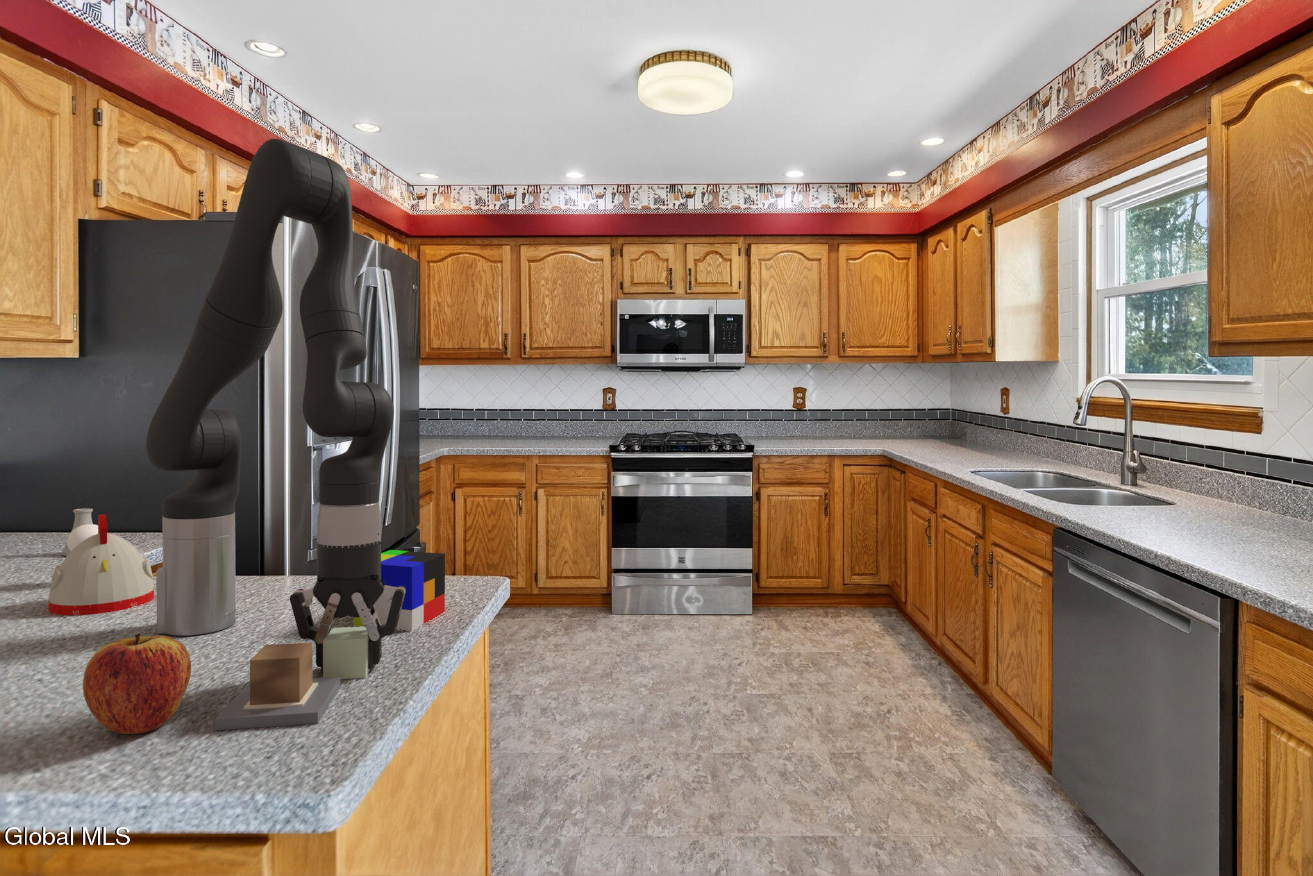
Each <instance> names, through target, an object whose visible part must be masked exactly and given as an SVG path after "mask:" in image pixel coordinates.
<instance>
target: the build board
mask: <svg viewBox="0 0 1313 876" xmlns="http://www.w3.org/2000/svg"><path fill="white" fill-rule="evenodd" d="M340 687H341V679H340V677H328V678H323V677H312V686H311V687H310V689H309V690H308V691H307V693H306V694H305V695H304V697H303V698H302V700H301V701H300V702H295V703H279V704H263V705H250V682H248V683H247V685H246V686H245V687H244V688H243V689H242V690H241V691H240V692H239V693H238V694H237V695H236V696H235V697H234V698H233V699H232V701H231V702H229V703H228V705H227V706H225V708H224V709H223V710H221V712H220V713H219V714H218V715H217V717H216V718H214V731H222V730H223V731H224V730H225V731H226V730H239V729H240V730H241V729H252V728H268V727H281V726H282V727H284V726H296V725H299V726H300V725H312V724H319V722H320V721H321V719H322V718H323V716H324V714H325V712H326V711H327V709H328V707H329V706H330V704H331V702H332V701H333V699H334V698H335V696H336V694H337V692H338V691H339V690H340Z"/></svg>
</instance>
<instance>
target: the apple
mask: <svg viewBox="0 0 1313 876" xmlns="http://www.w3.org/2000/svg"><path fill="white" fill-rule="evenodd" d="M191 675H192V661H191V656H190V654H189V651H188V649H187V647H186V646H185V645H184V644H183V643H182V642H181V641H178V640H177V639H175V638H173V637H170V636H167V635H164V634H163V635H162V634H159V635H141V633H136V634H135V635H134V636H132V637H127V638H126V637H125V638H123V639H122V638H121V639H118V640H116V641H115V640H114V641H111V642H109V643H107V644H105V645H104V646H102V647H101V648H99V649H98V650H97V651H95V653H94V654H93V655H92V656H91V658H90V659H89V661H88V662H87V665H86V667H85V669H84V674H83V678H82V679H83V680H82V693H83V699H84V700H85V703H86V705H87V707H88V709H89V711H90V713H92V716H93V717H94V718H95V719H96V720H97V721H98V722H99V724H101V725H102V726H103V727H104V728H106V729H107V730H109V731H111V732H113V733H116V734H122V735H135V734H136V735H137V734H145V733H148V732H151V731H154V730H156V729H158V728H160V727H162V726H163V725H165V724H166V723H167V722H168V721H169V720H171V718H172V717H173V716H174V715H175V714H176V712H177V710H178V709H179V707H180V705H181V703H182V701H183V698H184V697H185V694H186V692H187V689H188V687H189V684H190V680H191Z"/></svg>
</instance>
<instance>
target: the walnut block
mask: <svg viewBox="0 0 1313 876" xmlns="http://www.w3.org/2000/svg"><path fill="white" fill-rule="evenodd" d="M312 678H313V642H297V643H294V642H293V643H273V644H265V645H264V646H263V647H262V648H261V649H260V650H258V651H257V653H256V654H255V655H253V657H252V658H251V659H250V660H249V683H250V705H263V704H279V703H295V702H300V701H301V700H302V698H303V697H304V695H305V694H306V693H307V691H308V690H309V689H310V687H311V686H312Z"/></svg>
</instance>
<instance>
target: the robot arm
mask: <svg viewBox="0 0 1313 876" xmlns="http://www.w3.org/2000/svg"><path fill="white" fill-rule="evenodd" d="M349 181H350V180H349V177H348V175H347V173H346V170H345V169H344V168H343V167H342V166H341V165H340V164H339V163H338V162H337V161H335V160H333V159H331V158H330V157H327V156H325V155H322V154H319V153H317V152H316V151H315V152H314V151H312V150H309V149H307V148H305V147H302V146H300V145H297V144H295V143H292V142H290V141H287V140H283V139H280V138H270V139H267V140H266V141H264V143H262V144H261V145H260V147H258V149H257V151H256V152H255V154H254V156H253V158H252V160H251V161H250V165H249V168H248V170H247V173H246V176H245V181H244V184H243V188H242V191H241V195H240V199H239V202H238V206H237V210H236V213H235V217H234V222H233V225H232V228H231V232H230V235H229V238H228V241H227V245H226V247H225V249H224V252H223V255H222V256H221V260H220V262H219V265H218V268H217V271H216V273H215V276H214V278H213V280H212V283H211V285H210V287H209V289H208V291H207V293H206V296H205V299H204V302H203V303H202V307H201V309H200V311H199V314H198V317H197V320H196V323H195V326H194V328H193V329H194V330H193V332H192V335H191V338H190V340H189V342H188V345H187V347H186V350H185V352H184V355H183V357H182V359H181V362H180V364H179V365H178V368H177V371H176V372H175V375H174V377H173V379H172V380H171V383H170V384H169V386H168V388H167V389H166V391H165V393H164V395H163V396H162V399H161V400H160V402H159V404H158V405H157V408H156V410H155V411H154V414H153V417H152V418H151V421H150V424H149V426H148V430H147V435H146V439H145V440H146V442H145V448H146V455H147V457H148V460H149V462H150V463H151V464H152V465H153V466H154V467H155V468H157V469H159V470H162V471H169V472H181V471H183V472H186V471H197V473H196V476H195V478H194V479H193V480H192V481H191V482H190V483H189V484H187V486H185V487H183V488H182V489H179V490H177V491H175V492H173V493H171V494H168V495H166V496H165V497H164V498H163V500H162V502H161V516H162V517H161V518H162V519H161V521H162V527H161V528H162V566H161V567H159V568H157V569H156V575H155V576H156V584H155V585H156V588H155V589H156V633H157V634H167V635H172V636H193V635H203V634H209V633H213V632H214V633H215V632H218V631H221V630H225V629H227V628H229V627H232V626H233V625H235V623H236V614H237V606H236V604H237V603H236V593H237V592H236V502H237V499H238V495H239V491H240V475H241V473H240V472H241V458H242V434H241V429H240V428H241V427H240V425H239V423H238V420H237V418H236V417H235V416H234V414H233V413H231V412H230V411H228V410H226V409H223V408H222V409H221V408H208V407H209V405H210V403H212V401H213V400H214V398H215V397H216V396H217V395H218V394H219V393H220V392H221V391H222V390H223V389H225V387H227V386H228V385H229V384H230V383H232V382H233V381H235V380H236V379H237V378H238V377H241V375H242V374H244V373H245V372H246V371H247V370H249V369H250V368H252V367H253V366H254V365H255V364H256V363H257V362H258V361H259V360H260V359H262V357H263V356H264V355H265V353H266V351H267V350H268V349H269V346H270V345H271V343H272V341H273V339H274V336H275V333H276V331H277V328H278V326H279V324H280V321H281V319H282V316H283V310H284V305H283V304H284V303H283V297H282V292H281V288H280V284H279V280H278V277H277V274H276V270H275V267H274V261H273V245H274V241H275V240H274V239H275V235H276V233H277V229H278V226H279V224H280V222H281V220H282V218H283V217H286V218H289V219H293V220H295V221H300V222H302V223H306V224H309V225H311V227H312V229H313V232H314V236H315V239H316V242H317V254H316V255H317V256H316V258H315V261H314V264H313V266H312V269H311V271H310V272H309V274H308V276H307V278H306V280H305V282H304V285H303V287H302V290H301V294H300V299H299V316H300V321H301V327H302V332H303V336H304V340H305V341H304V342H305V347H306V351H307V352H306V354H307V355H306V360H307V362H306V375H305V384H304V385H305V386H304V392H303V399H302V414H303V418H304V420H305V423H306V425H307V426H308V427H309V428H310V430H311V431H312V432H313V433H315V434H316V435H317V436H319V437H324V438H351V437H352V440H351V442H350V443H349V447H348V449H347V450H346V451H344V452H343V453H340V454H337V455H333V456H330V457H327V458H325V459H324V460H323V461H322V462H321V463H320V466H319V471H318V473H319V474H318V475H319V476H318V481H319V482H318V483H319V484H318V487H319V488H318V492H319V493H318V496H319V497H318V498H319V499H318V501H319V502H318V503H319V504H318V514H317V519H316V520H317V522H316V582H315V584H314V585H313V587H311V588H307V589H306V588H305V589H304V588H298V589H297V590H295V591H294V592H293V593H292V594H290V596H289V602H290V606H291V609H292V613H293V617H294V620H295V624H296V629H297V632H298V636H299V638H300V639H301V640H311V641H313V642H314V643H315V665H316V667H317V668H320V670H321V672H322V673H323V640H324V639H325V638H326V637H327V635H328V634H329V633H330V632H331V630H332V629H333V628H334V627H333V626H334V624H335V621H336V620H337V619H342V618H347V617H349V618H354V617H360V618H361V621H362V623H363V625H364V626H365V628H366V630H367V632H368V635H369V637H370V640H369V641H368V669H370V670H375V668H376V666H377V665H379V664H380V661H381V659H382V656H383V655H382V654H383V653H382V650H383V649H382V646H383V645H382V639H383V638H384V637H387V636H392V635H394V633H395V631H396V630H395V629H396V627H397V624H398V620H399V616H400V613H401V609H402V605H403V601H404V597H405V593H406V588H405V587H404V586H399V587H398V588H397V587H392V586H387V585H385V583H384V581H383V579H382V577H381V553H382V534H383V527H382V516H381V510H380V469H381V466H382V463H383V458H384V455H385V451H386V448H387V444H388V440H389V437H390V434H391V430H392V428H393V423H394V416H395V409H394V402H393V400H392V397H391V395H390V393H389V392H388V390H387V389H386V388H385V387H384V386H382V385H381V384H379V383H377V382H376V383H374V382H365V381H342V380H341V378H340V371H343V370H347V369H351V368H355V367H357V366H359V365H361V364H363V362H365V360H366V359H367V356H368V350H367V343H366V338H365V333H364V332H365V331H364V328H363V322H362V318H361V314H360V309H359V305H358V299H357V292H356V284H355V282H356V281H355V267H354V266H355V265H354V261H355V259H354V228H353V223H354V222H353V204H352V200H353V199H352V192H351V186H350V185H351V184H350V182H349ZM382 594H384V595H385V596H386V601H387V603H388V604H391V607H390V610H389V614H388V618H387V622H386V624H384V625H381V624H380V621H379V619H378V613H377V611H376V608H375V606H374V604H375V602H376V601H377V600H378V599H379V597H380V596H381V595H382ZM313 598H315V599H316V600H317V601H318V603H320V605H321V606H322V607H323V609H324V612H323V615H322V617H321V620H320V622H319V627H318V626H315V623H314V619H313V615H312V611H311V608H310V605H311V604H312V603H313ZM365 615H366V616H365Z"/></svg>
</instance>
